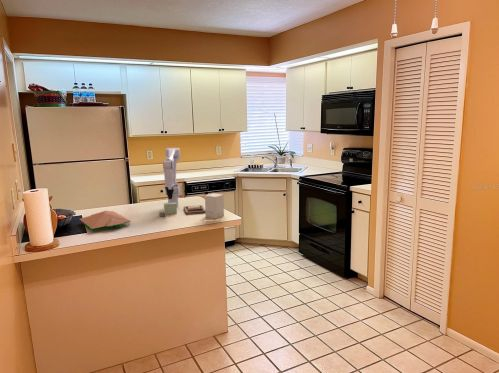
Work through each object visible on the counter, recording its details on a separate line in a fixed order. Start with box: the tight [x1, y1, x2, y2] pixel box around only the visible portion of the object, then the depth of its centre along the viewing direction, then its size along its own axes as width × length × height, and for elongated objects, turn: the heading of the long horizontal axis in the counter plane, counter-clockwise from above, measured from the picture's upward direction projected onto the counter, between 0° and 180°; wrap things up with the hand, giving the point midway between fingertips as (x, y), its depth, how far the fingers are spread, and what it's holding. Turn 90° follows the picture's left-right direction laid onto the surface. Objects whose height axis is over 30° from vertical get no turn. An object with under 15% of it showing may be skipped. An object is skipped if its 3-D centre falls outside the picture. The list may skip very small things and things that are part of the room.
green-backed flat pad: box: [79, 210, 131, 234], centre depth 228 cm, size 23×33×8 cm
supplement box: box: [204, 192, 225, 220], centre depth 241 cm, size 9×9×15 cm
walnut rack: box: [183, 204, 206, 216], centre depth 255 cm, size 17×13×2 cm
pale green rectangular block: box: [163, 202, 178, 215], centre depth 249 cm, size 4×8×7 cm, turn 106°
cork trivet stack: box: [187, 205, 201, 209], centre depth 258 cm, size 5×9×2 cm, turn 106°
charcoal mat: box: [158, 211, 166, 218], centre depth 250 cm, size 10×14×1 cm
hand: (169, 198), depth 251 cm, fingers open, 7 cm apart
